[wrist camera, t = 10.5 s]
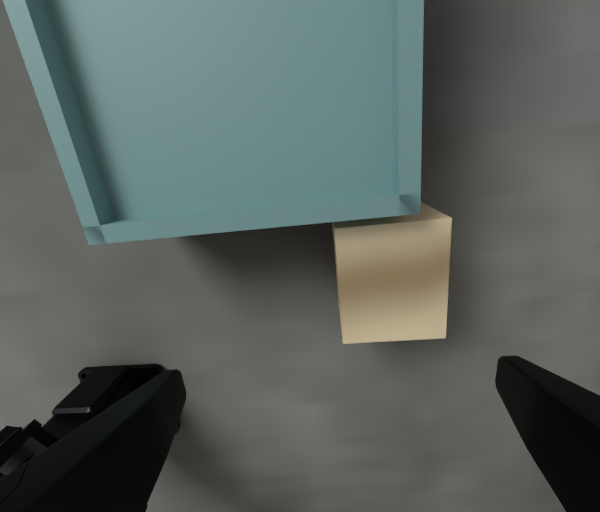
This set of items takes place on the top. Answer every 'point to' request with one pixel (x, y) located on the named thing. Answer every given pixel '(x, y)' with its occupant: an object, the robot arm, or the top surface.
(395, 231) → the block
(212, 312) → the top surface
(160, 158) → the teal toy wagon
